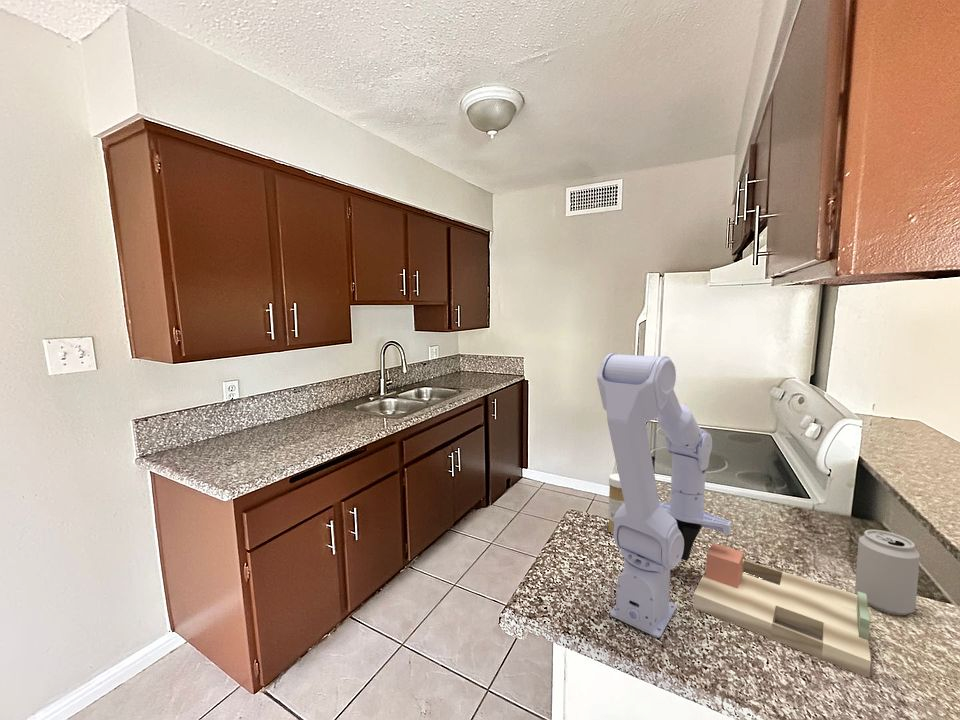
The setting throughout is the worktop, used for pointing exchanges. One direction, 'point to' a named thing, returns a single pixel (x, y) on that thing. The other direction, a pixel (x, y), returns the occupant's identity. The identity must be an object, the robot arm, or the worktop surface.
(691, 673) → the worktop surface
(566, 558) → the worktop surface
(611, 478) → the sprinkles bottle
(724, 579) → the block
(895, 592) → the can
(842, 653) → the board
